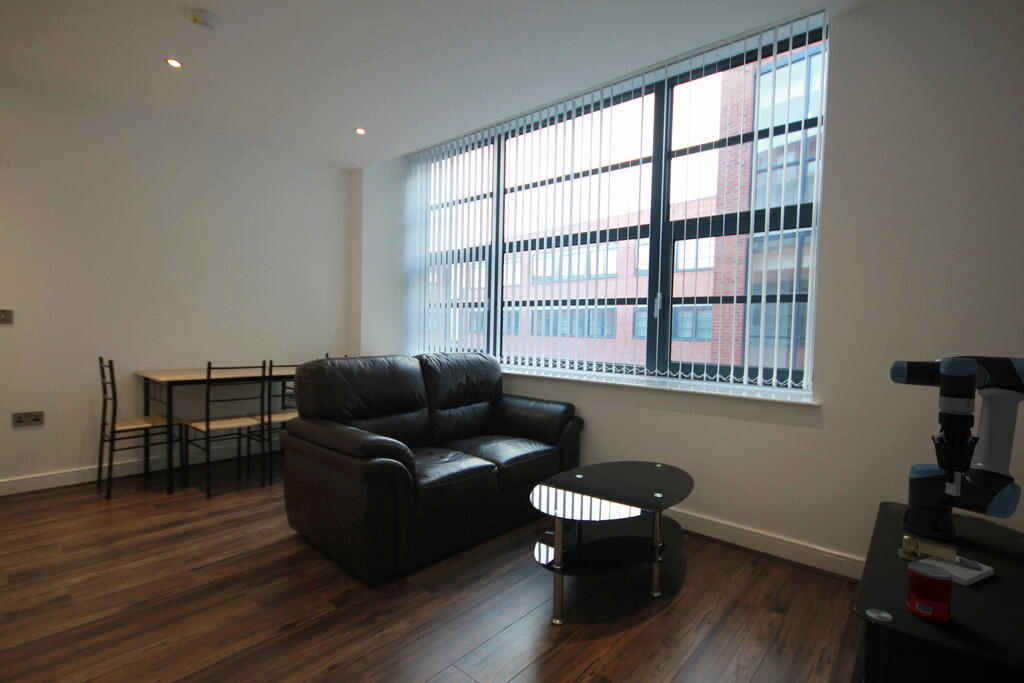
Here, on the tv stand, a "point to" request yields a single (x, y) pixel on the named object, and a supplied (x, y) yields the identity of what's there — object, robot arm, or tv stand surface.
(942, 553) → the latch bar
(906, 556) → the jamb plate
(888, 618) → the tv stand surface
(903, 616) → the tv stand surface
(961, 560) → the white flat block
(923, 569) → the canned food
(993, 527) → the tv stand surface
